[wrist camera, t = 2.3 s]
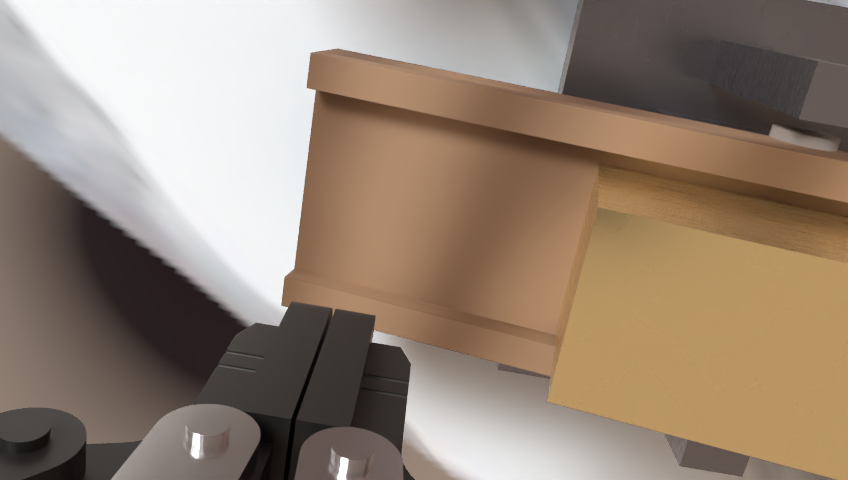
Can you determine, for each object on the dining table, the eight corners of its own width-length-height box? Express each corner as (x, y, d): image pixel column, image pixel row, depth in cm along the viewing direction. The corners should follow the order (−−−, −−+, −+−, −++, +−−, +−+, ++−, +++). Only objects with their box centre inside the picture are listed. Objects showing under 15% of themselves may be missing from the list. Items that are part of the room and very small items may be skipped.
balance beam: (1282, 216, 21) (1485, 278, 16) (1136, 461, 24) (1273, 577, 19) (367, 35, 26) (312, 42, 21) (335, 261, 29) (280, 313, 24)
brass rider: (859, 219, 20) (938, 283, 15) (796, 380, 21) (850, 482, 17) (598, 162, 21) (598, 207, 16) (558, 320, 23) (547, 401, 18)
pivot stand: (918, 22, 26) (1117, 40, 18) (771, 405, 32) (877, 547, 24) (587, -39, 26) (644, -47, 18) (496, 357, 31) (510, 484, 24)
